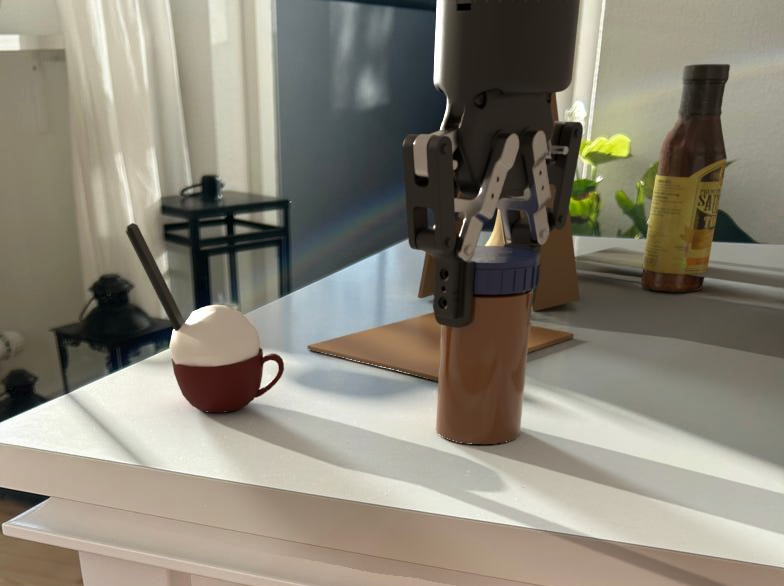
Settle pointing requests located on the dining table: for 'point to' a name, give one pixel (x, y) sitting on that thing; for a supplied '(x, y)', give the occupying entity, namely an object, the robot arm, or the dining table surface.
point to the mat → (413, 345)
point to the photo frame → (554, 256)
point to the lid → (505, 270)
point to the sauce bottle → (688, 185)
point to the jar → (485, 371)
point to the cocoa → (209, 347)
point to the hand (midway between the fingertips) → (485, 314)
